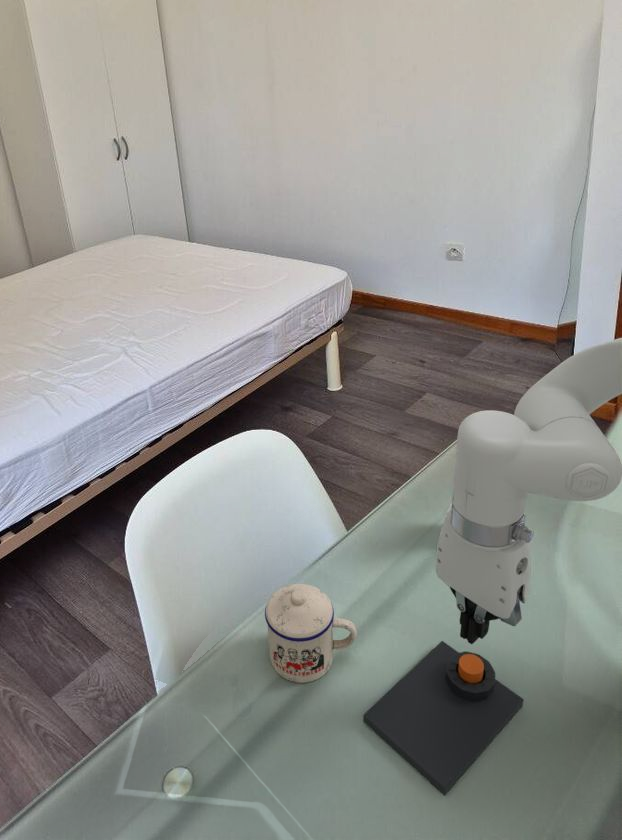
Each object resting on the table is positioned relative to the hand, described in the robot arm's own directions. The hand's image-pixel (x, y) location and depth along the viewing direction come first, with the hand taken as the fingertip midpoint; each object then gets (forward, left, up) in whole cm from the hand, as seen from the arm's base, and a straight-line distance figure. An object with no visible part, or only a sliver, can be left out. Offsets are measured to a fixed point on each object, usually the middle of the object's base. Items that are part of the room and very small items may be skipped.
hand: (473, 634), depth 84 cm
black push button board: (0, +5, -10) cm, 11 cm away
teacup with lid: (+17, +11, -10) cm, 23 cm away
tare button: (0, 0, -7) cm, 7 cm away
